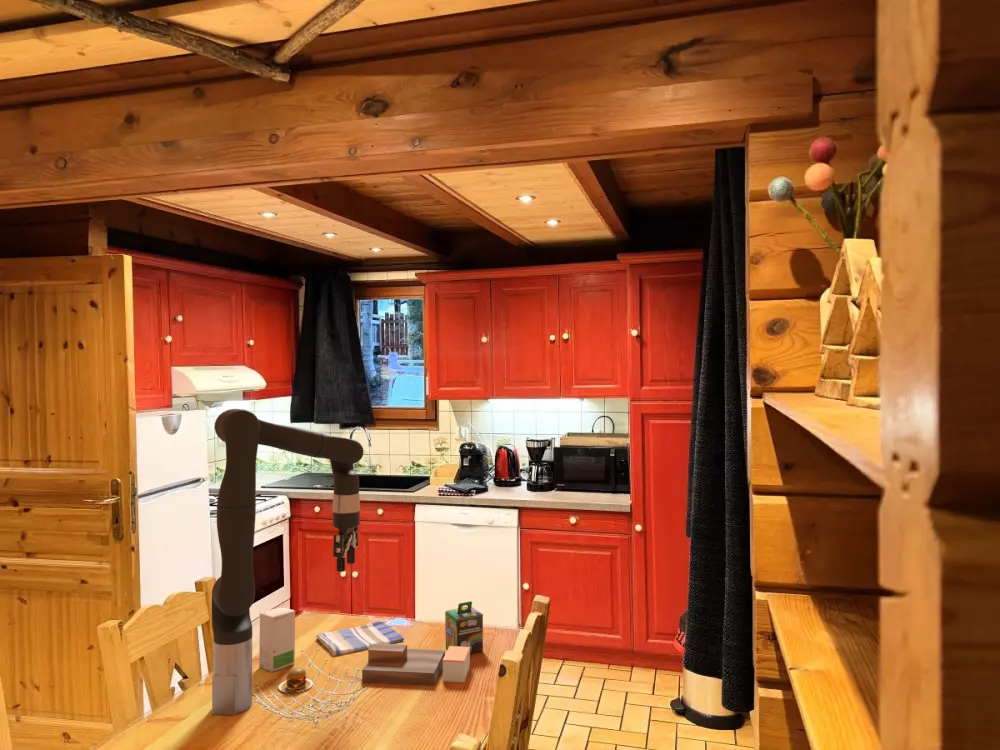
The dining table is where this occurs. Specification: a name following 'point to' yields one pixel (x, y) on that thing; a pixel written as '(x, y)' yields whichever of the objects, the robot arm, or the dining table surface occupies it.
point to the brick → (456, 664)
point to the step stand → (402, 665)
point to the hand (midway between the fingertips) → (346, 567)
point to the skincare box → (277, 639)
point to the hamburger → (296, 679)
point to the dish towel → (358, 638)
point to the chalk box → (464, 628)
